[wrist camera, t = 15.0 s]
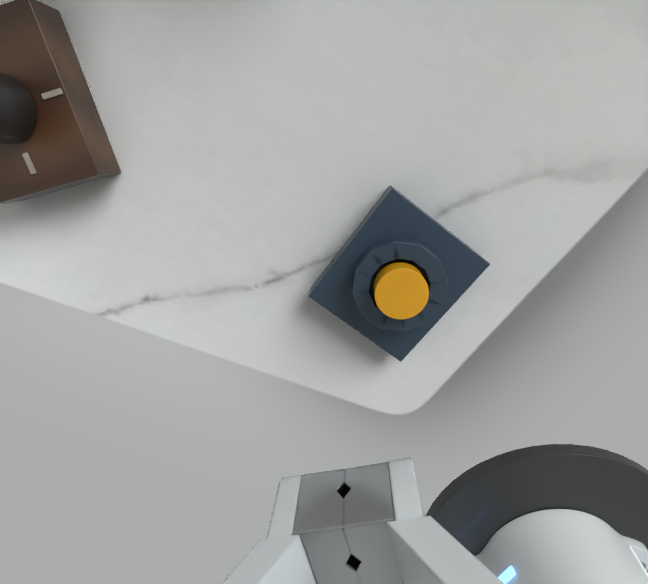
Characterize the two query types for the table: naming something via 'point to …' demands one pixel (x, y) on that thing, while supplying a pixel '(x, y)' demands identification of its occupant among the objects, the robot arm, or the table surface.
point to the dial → (15, 111)
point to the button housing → (390, 247)
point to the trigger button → (400, 290)
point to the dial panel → (49, 107)
